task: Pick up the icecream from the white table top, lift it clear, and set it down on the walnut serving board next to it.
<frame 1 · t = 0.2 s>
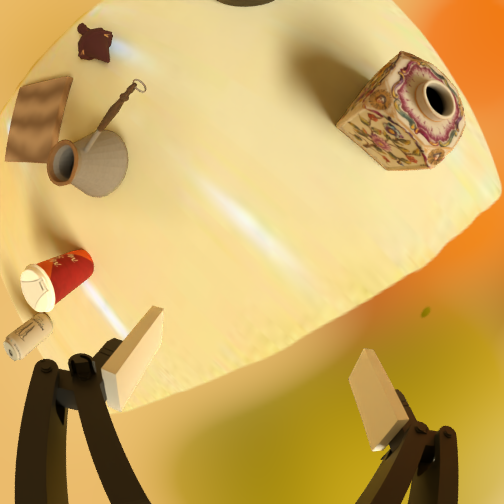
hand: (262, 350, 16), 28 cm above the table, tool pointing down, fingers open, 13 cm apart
serving board: (36, 121, 39), on the table
coffee pot: (128, 146, 40), on the table
decorative jar: (379, 124, 37), on the table
coffee cup: (82, 263, 46), on the table
icecream: (103, 49, 35), on the table
energy drink can: (47, 321, 51), on the table
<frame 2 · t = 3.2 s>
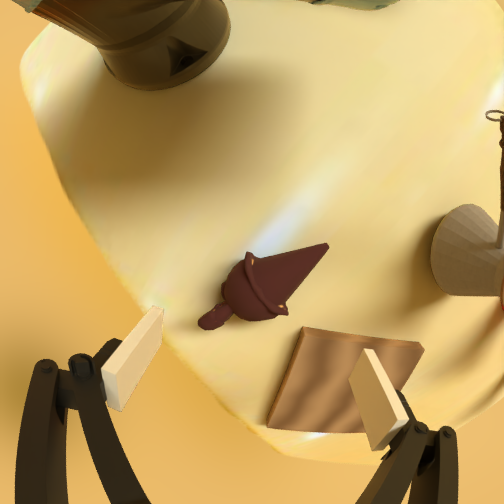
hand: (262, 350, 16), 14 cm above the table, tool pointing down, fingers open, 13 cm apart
serving board: (342, 386, 34), on the table
coffee pot: (444, 210, 27), on the table
icecream: (262, 273, 30), on the table
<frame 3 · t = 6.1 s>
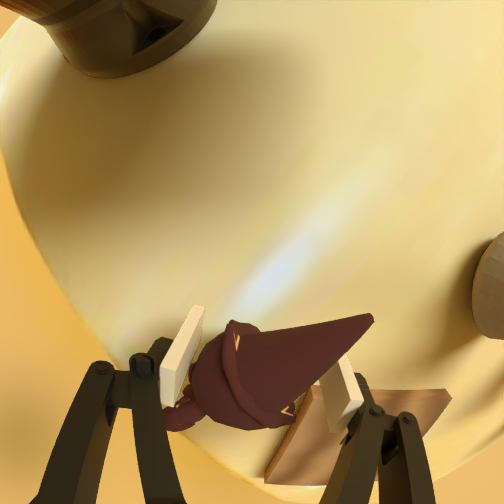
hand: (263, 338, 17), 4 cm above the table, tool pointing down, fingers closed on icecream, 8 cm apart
serving board: (354, 441, 25), on the table
coffee pot: (487, 234, 19), on the table
icecream: (256, 344, 18), point 3 cm above the table, touching gripper
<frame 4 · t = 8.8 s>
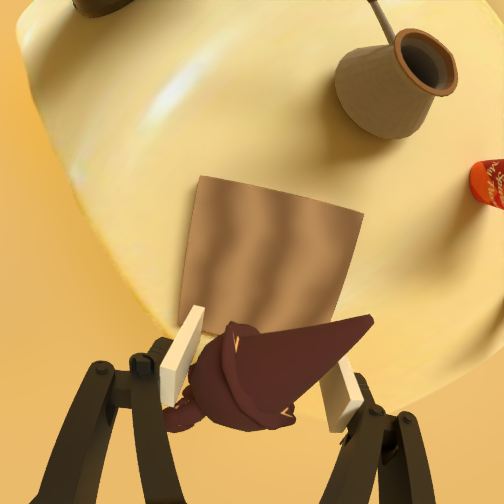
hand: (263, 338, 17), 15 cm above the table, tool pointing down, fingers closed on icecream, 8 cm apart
serving board: (265, 268, 32), on the table
coffee pot: (352, 64, 25), on the table
coffee cup: (481, 182, 27), on the table
icecream: (256, 345, 18), point 14 cm above the table, touching gripper
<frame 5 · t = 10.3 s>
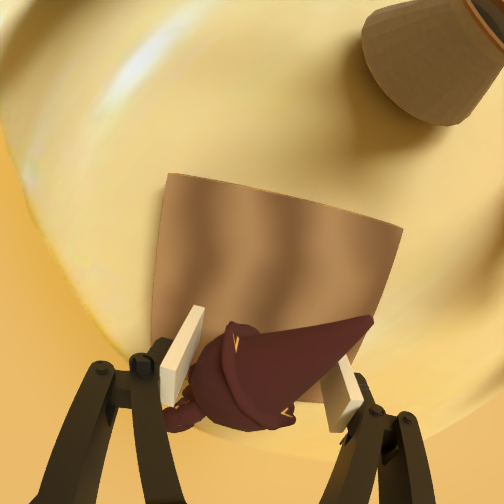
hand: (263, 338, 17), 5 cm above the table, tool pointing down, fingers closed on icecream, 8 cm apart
serving board: (263, 302, 23), on the table
coffee pot: (379, 28, 16), on the table
icecream: (256, 345, 18), point 5 cm above the table, touching gripper
when the fingers open (3 cm above the table, at t = 11.6 s): icecream stays where it is, resting on serving board.
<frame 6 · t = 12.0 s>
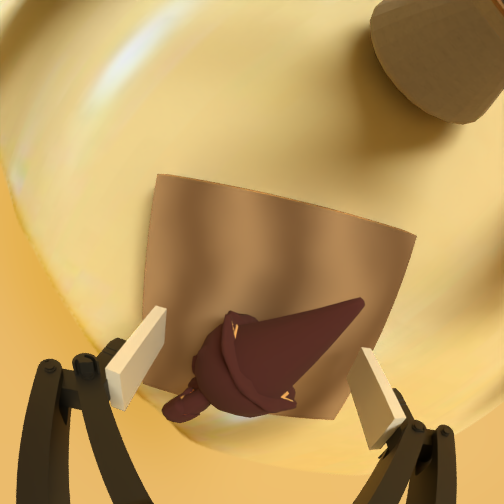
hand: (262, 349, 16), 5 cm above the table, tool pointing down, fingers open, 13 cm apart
serving board: (263, 315, 21), on the table
coffee pot: (388, 20, 14), on the table
icecream: (256, 334, 19), point 2 cm above the table, touching serving board
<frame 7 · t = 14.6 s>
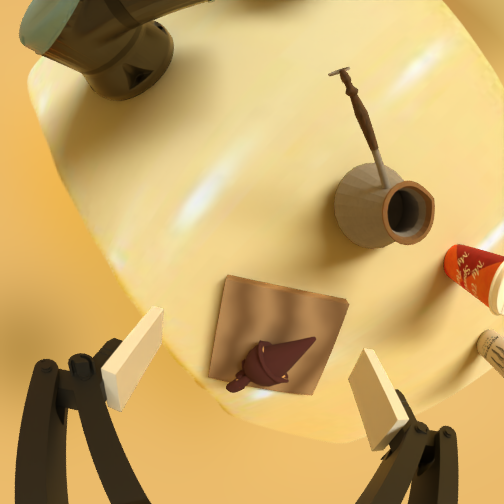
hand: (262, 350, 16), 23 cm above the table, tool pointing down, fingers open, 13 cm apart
serving board: (274, 339, 41), on the table
coffee pot: (351, 173, 35), on the table
coffee cup: (455, 261, 37), on the table
icecream: (270, 350, 40), point 2 cm above the table, touching serving board
energy drink can: (483, 339, 40), on the table
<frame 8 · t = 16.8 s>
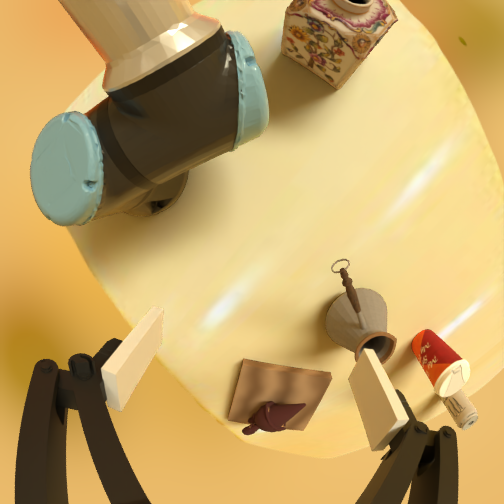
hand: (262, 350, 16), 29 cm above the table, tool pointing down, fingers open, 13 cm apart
serving board: (276, 396, 52), on the table
coffee pot: (343, 289, 45), on the table
decorative jar: (326, 51, 35), on the table
coffee cup: (422, 340, 48), on the table
icecream: (273, 405, 51), point 2 cm above the table, touching serving board
energy drink can: (446, 387, 51), on the table
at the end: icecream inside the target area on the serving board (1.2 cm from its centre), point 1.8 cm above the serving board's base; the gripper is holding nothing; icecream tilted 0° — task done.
